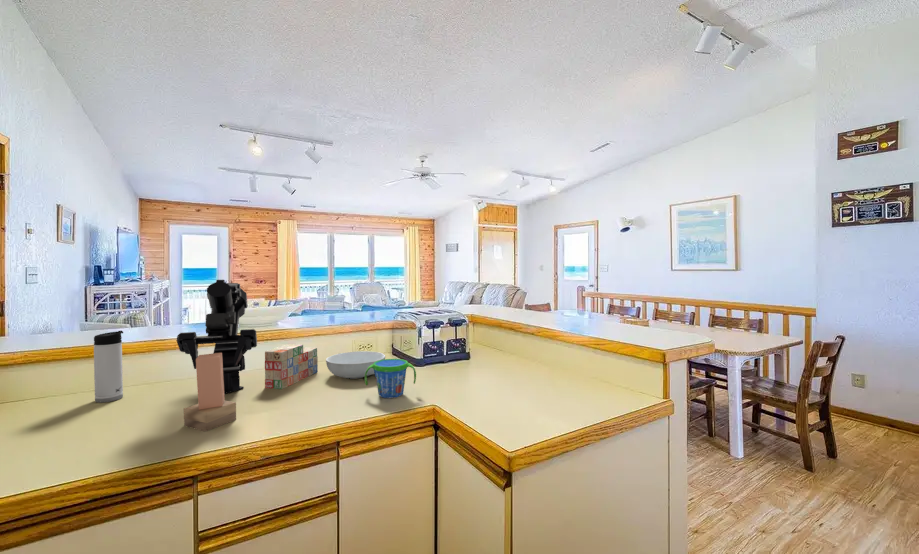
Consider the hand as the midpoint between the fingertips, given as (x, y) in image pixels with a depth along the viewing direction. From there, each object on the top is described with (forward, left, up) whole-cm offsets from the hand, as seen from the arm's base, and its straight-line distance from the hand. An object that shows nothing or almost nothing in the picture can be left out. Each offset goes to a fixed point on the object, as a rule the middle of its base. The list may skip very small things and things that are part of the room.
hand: (215, 366), depth 106 cm
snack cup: (+33, +33, -13) cm, 49 cm away
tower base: (+4, -4, -13) cm, 15 cm away
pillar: (+4, -4, -8) cm, 10 cm away
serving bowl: (+9, +47, -13) cm, 50 cm away
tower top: (+4, -4, -11) cm, 12 cm away
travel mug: (-41, -4, -13) cm, 43 cm away
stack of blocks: (-7, +33, -13) cm, 37 cm away
